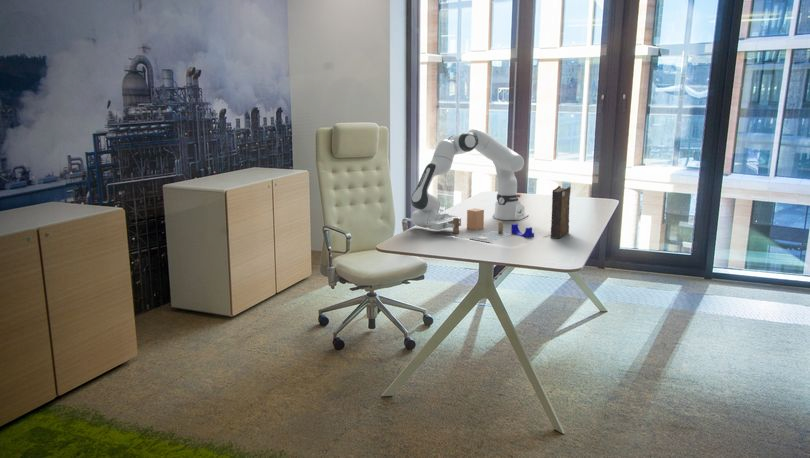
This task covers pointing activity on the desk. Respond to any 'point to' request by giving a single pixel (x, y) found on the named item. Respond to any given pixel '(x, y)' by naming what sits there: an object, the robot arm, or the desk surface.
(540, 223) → the desk surface
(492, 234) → the board
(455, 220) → the pin
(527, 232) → the cable clip
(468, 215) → the block
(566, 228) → the book
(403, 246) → the desk surface
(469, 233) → the desk surface
